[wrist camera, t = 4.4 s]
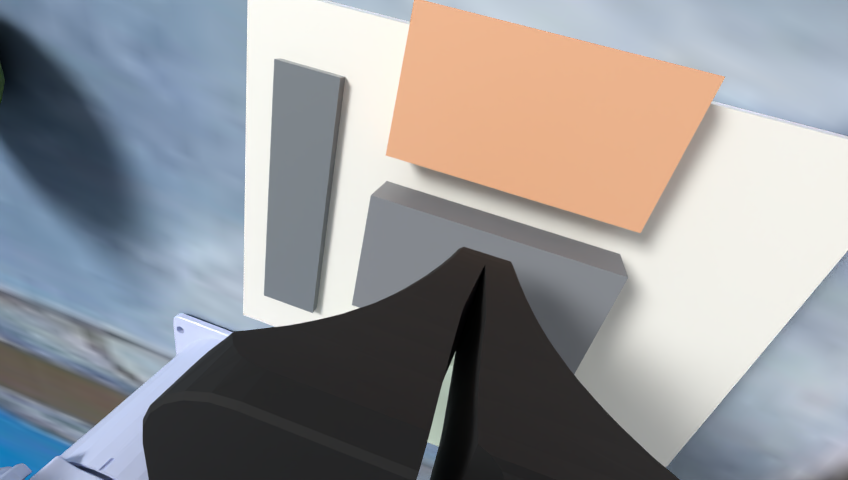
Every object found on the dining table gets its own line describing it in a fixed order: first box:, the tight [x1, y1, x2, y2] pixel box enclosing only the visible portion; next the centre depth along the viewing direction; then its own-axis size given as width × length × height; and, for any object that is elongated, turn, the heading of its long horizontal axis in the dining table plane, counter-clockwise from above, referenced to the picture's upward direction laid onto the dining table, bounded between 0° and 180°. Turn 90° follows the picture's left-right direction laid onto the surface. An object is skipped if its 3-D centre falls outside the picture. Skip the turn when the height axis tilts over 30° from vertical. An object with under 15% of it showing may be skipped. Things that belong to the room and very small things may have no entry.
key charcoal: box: [352, 181, 628, 374], centre depth 14 cm, size 4×8×2 cm, turn 77°
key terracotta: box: [386, 0, 725, 233], centre depth 12 cm, size 4×8×2 cm, turn 77°
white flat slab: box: [243, 0, 848, 468], centre depth 16 cm, size 14×20×3 cm
